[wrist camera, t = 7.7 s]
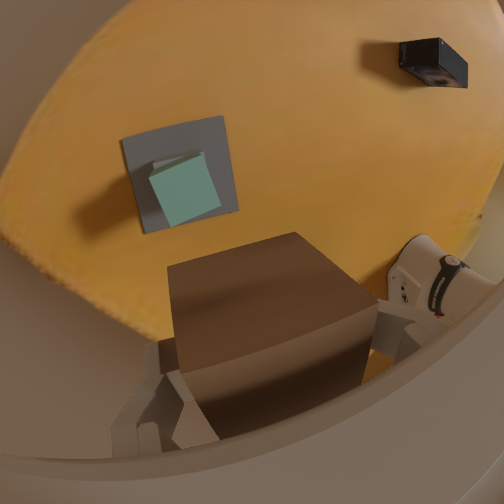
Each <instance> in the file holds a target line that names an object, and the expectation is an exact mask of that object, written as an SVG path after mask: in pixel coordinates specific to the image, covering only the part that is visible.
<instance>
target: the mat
mask: <svg viewBox="0 0 504 504" xmlns="http://www.w3.org/2000/svg"><path fill="white" fill-rule="evenodd" d="M122 142H123V147H124V152H125V157H126V161H127V166H128V170H129V174H130V178H131V182H132V186H133V190H134V194H135V198H136V202H137V205H138V209H139V213H140V216H141V220H142V223H143V227H144V230H145V233H146V234H148V233H151V232H155V231H159V230H162V229H166V228H170V227H171V226H170V224H169V222H168V220H167V218H166V216H165V214H164V211H163V209H162V207H161V205H160V203H159V200H158V198H157V196H156V194H155V191H154V189H153V187H152V185H151V182H150V180H149V176H150V174H151V172H152V171H153V170H154V167H153V163H154V161H155V160H156V159H158V158H162V157H166V156H170V155H174V154H179V153H183V152H187V151H192V150H196V149H200V150H202V151H204V155H205V160H206V166H207V169H208V172H209V174H210V177H211V179H212V182H213V185H214V187H215V190H216V192H217V195H218V198H219V200H220V203H221V205H222V206H219V207H217V208H215V209H212V210H210V211H208V212H205V213H203V214H201V215H198V216H196V217H194V218H191V219H189V220H187V221H184V222H182V223H180V224H178V225H182V224H185V223H189V222H193V221H197V220H201V219H205V218H210V217H214V216H218V215H222V214H226V213H231V212H235V211H239V208H238V202H237V196H236V190H235V184H234V178H233V172H232V166H231V160H230V154H229V148H228V142H227V136H226V129H225V123H224V117H223V116H218V117H212V118H207V119H201V120H196V121H191V122H186V123H182V124H177V125H173V126H168V127H164V128H160V129H156V130H152V131H149V132H145V133H141V134H138V135H134V136H131V137H127V138H124V139H122ZM178 225H175V226H178ZM173 227H174V226H173Z"/></svg>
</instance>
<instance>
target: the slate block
mask: <svg viewBox="0 0 504 504" xmlns="http://www.w3.org/2000/svg"><path fill="white" fill-rule="evenodd" d="M194 152H199V153H200V154H202V156H203V158H204V161H205V164H206V160H205V155H204V151H202V150H200V149H196V150H192V151H187V152H183V153H179V154H174V155H170V156H166V157H162V158H158V159H156V160H155V161H154V163H153V167H154V170H155V169H157V168H159V167H161V166H164V165H166V164H168V163H170V162H173V161H175V160H177V159H180V158H182V157H184V156H187V155H189V154H192V153H194Z"/></svg>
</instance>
